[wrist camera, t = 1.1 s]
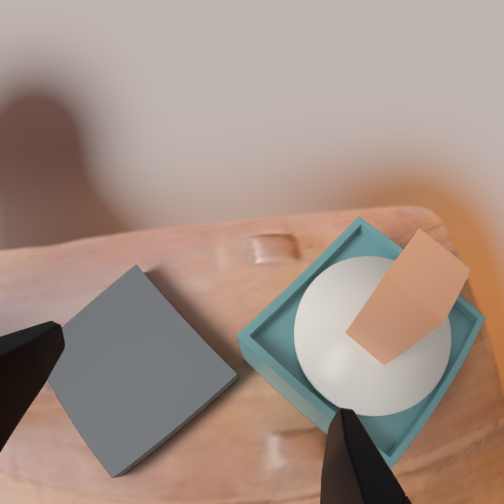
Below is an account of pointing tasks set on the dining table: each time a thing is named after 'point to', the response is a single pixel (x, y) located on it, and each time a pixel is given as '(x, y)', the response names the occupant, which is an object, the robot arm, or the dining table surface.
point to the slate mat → (134, 372)
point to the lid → (379, 327)
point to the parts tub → (287, 367)
